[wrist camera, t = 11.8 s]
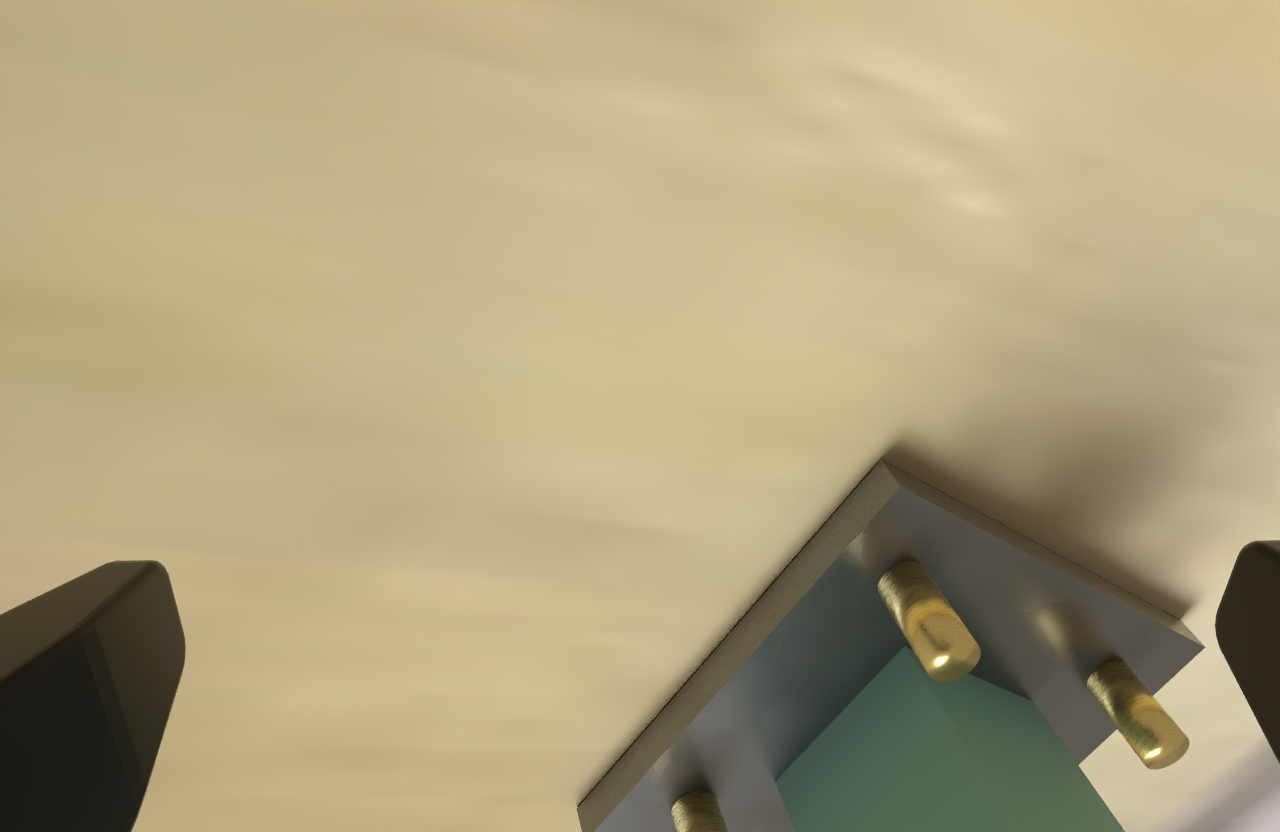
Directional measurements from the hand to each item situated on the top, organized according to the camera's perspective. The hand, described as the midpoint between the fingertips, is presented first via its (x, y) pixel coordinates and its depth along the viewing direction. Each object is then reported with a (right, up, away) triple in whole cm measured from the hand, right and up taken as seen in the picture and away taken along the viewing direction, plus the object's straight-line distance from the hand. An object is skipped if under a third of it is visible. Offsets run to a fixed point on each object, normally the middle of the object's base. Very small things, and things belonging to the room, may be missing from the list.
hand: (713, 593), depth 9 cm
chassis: (+6, -6, +20) cm, 22 cm away
